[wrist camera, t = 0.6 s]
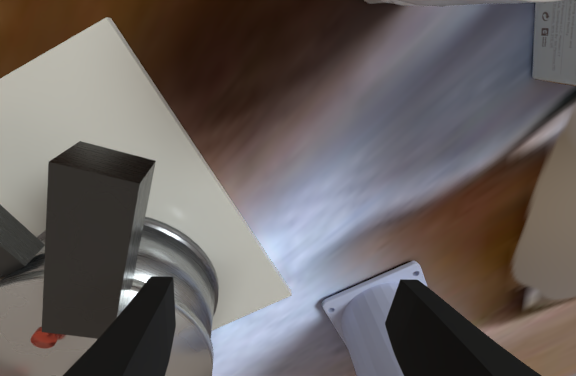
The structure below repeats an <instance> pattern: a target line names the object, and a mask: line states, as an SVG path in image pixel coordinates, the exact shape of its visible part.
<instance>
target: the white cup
mask: <svg viewBox="0 0 576 376" xmlns="http://www.w3.org/2000/svg"><path fill="white" fill-rule="evenodd" d="M364 1H365V2H367V3H369V4H383V3H393V4H397V5H401V6H441V7H443V6H459V5H478V4H512V3H542V2H556V1H563V0H364Z"/></svg>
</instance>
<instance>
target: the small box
mask: <svg viewBox="0 0 576 376" xmlns="http://www.w3.org/2000/svg"><path fill="white" fill-rule="evenodd" d="M532 76H533V78H534V79H537V80H543V81H549V82H554V83H560V84H567V85H573V86H576V0H563V1H556V2H542V3H535V23H534V43H533V72H532Z"/></svg>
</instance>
